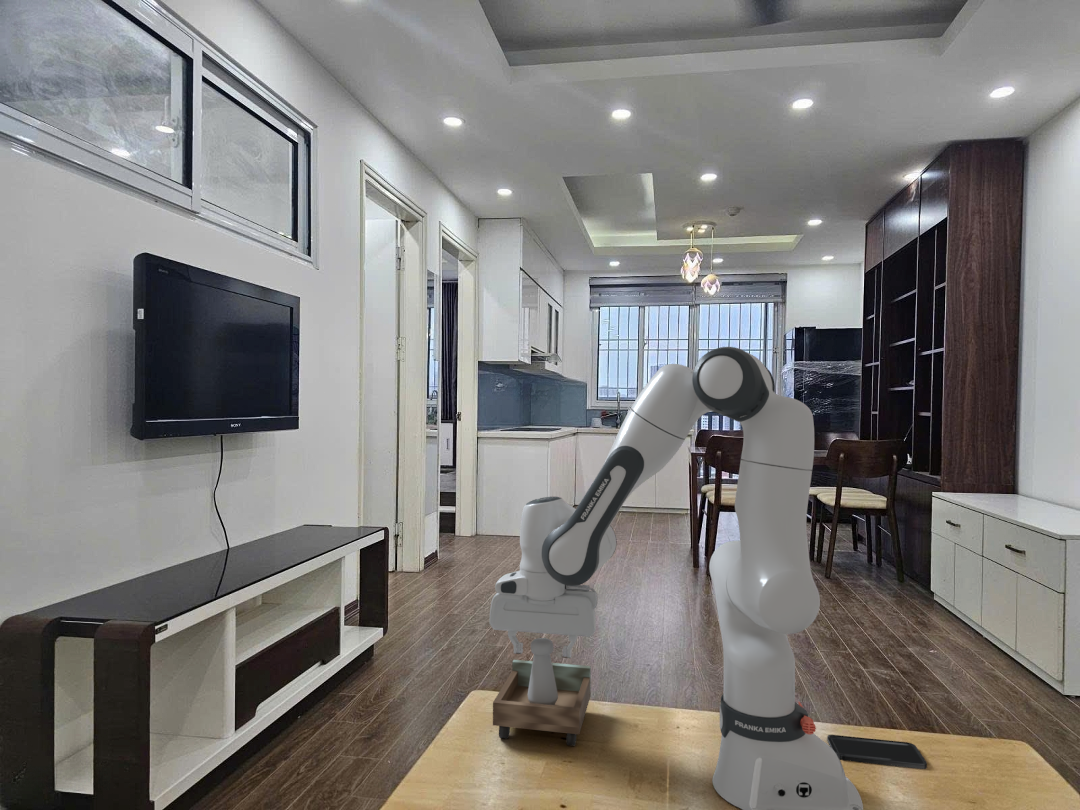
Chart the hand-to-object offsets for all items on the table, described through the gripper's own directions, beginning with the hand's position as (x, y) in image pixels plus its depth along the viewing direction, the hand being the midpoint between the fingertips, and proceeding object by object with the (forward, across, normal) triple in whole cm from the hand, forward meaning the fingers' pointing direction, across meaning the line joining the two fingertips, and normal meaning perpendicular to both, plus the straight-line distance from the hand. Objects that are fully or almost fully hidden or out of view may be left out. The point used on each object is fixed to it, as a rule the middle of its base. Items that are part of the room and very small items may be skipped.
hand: (542, 655), depth 127 cm
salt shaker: (+10, 0, 0) cm, 10 cm away
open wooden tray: (+14, 0, -2) cm, 14 cm away
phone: (+15, -60, -5) cm, 62 cm away
